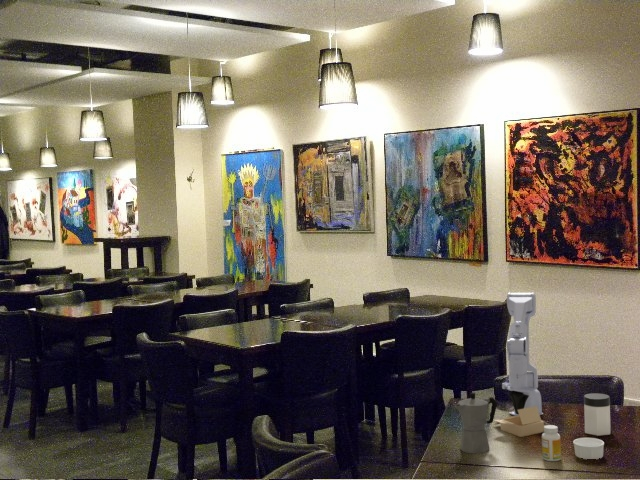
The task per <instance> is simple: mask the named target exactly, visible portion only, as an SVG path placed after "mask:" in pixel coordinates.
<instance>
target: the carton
mask: <svg viewBox="0 0 640 480" xmlns="http://www.w3.org/2000/svg"><path fill="white" fill-rule="evenodd" d="M511 417H512V418H508V417H506V418H507V419H503V418H501V419H502V420H505V421H508V422H511V423H514V424H515V425H513V424H502V423H501V424H500V431H503V432H505V433H508V434H511V435H514V436H517V437H519V438H522V437H527V436H531V435H537V434H541V433H542V434H543V433H545V432H544V426H545V425H544V422H543V421H544V420H543V421H538V422H534V423H529V424H524V425H522V423H521V419H520V416H517V417H513V416H511Z"/></svg>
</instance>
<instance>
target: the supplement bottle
mask: <svg viewBox="0 0 640 480" xmlns="http://www.w3.org/2000/svg"><path fill="white" fill-rule="evenodd" d="M558 429H559V427H558V426H557V425H553V424H549V425H544V432H542V434H541V451H542V453H541V455H542V457H541V458H542V459H543V460H545V461H547V462H558V461H561V459H562V446H561V444H562V443H561V435H560V433H558V432H559V430H558Z"/></svg>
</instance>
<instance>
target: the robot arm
mask: <svg viewBox="0 0 640 480" xmlns="http://www.w3.org/2000/svg"><path fill="white" fill-rule="evenodd" d="M536 296H537V295H536V293H535V292H534V291H532V292H508V293H507V295H506V307H507V310H508V313H509V316H512V317H513V322H512V323H511V324H510V326H509V335H508V339H507V340H506V353H507V360H508V373H509V374H508V382H501V387H502V390H508V391H510V392H508V393H507V396H508V397H509V399H510V400H511V401H510V402H511V403H512V406H513V411H510V412H508V414H509V415H512V416H518V415H519V413H518V410H519V409H524V408H529V407H534V406H537V409H538V412H539V415H540V416H541V415H544V413H543V412H542V409H543V408H542V394H541V393H540V390H538V388H539V381H538V380H539V377H538V369H537V367H536V366H535V365H533V364H532V363H530V321H531V318H532V317H534V316H535V315H536V312H537V311H536V309H537V308H536V307H537V302H536V301H537V297H536Z"/></svg>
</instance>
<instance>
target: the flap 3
mask: <svg viewBox="0 0 640 480" xmlns="http://www.w3.org/2000/svg"><path fill="white" fill-rule="evenodd" d="M518 413H519V416H520V419H521V423H522V425H524V424H529V423H534V422H538V421H541V420H542V418H541V415H539V412H538V409H537V406H534V407H529V408H524V409H519V410H518Z"/></svg>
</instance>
